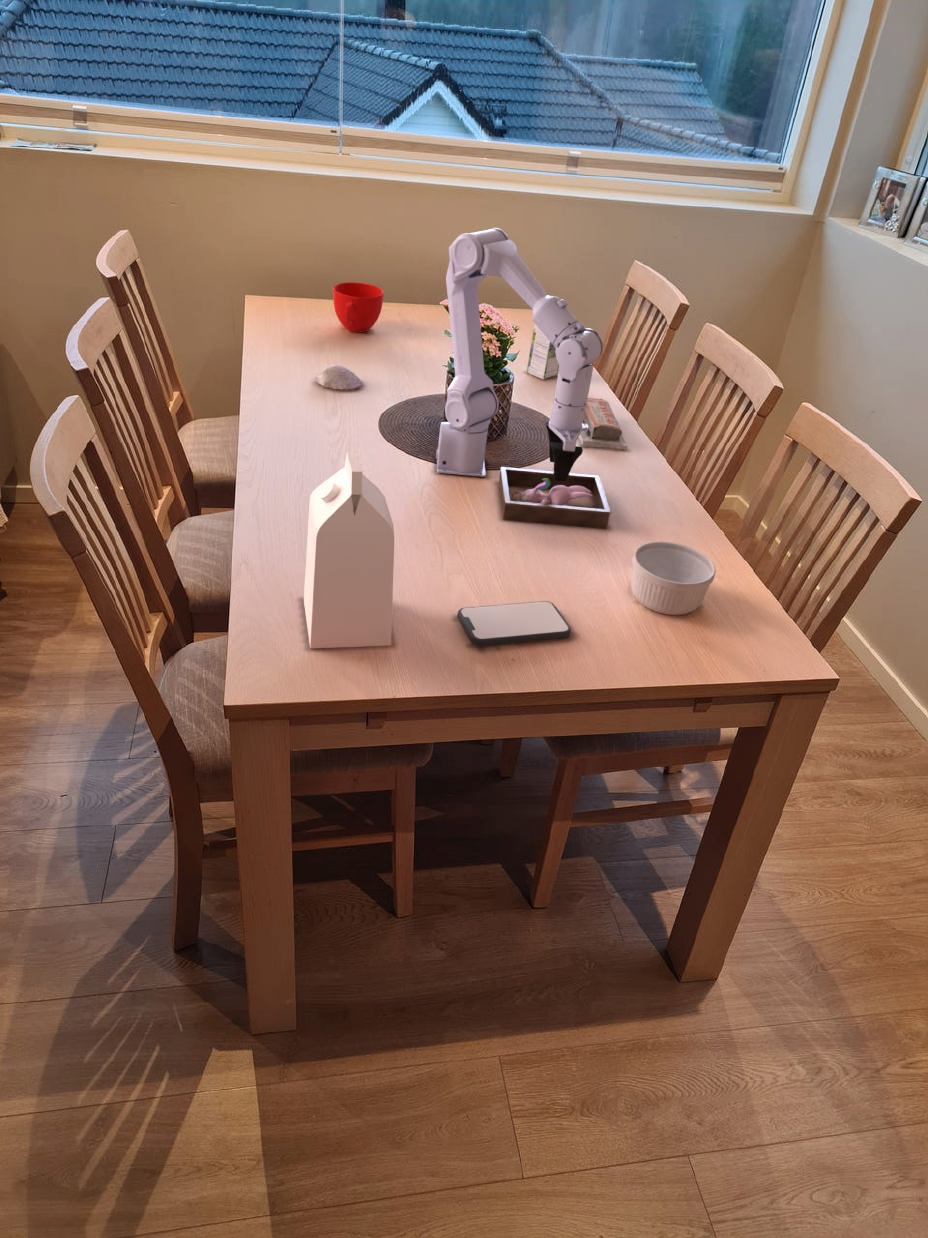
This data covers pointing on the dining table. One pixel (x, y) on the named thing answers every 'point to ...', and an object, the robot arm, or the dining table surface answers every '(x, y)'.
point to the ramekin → (670, 577)
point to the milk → (349, 562)
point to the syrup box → (542, 356)
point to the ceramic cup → (357, 305)
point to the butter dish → (601, 426)
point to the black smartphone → (513, 623)
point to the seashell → (338, 378)
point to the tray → (548, 511)
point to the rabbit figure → (552, 494)
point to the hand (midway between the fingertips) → (557, 470)
